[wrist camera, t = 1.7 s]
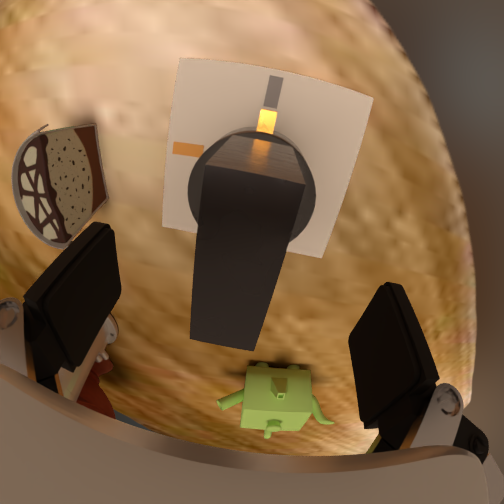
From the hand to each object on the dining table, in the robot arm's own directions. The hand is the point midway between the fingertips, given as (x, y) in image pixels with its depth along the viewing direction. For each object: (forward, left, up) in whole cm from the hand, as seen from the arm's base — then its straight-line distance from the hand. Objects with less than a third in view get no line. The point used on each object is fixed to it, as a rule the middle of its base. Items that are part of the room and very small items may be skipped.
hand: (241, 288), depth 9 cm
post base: (0, 0, -20) cm, 20 cm away
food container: (+2, +21, -20) cm, 29 cm away
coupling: (0, 0, -12) cm, 13 cm away
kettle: (-38, -1, -20) cm, 43 cm away
